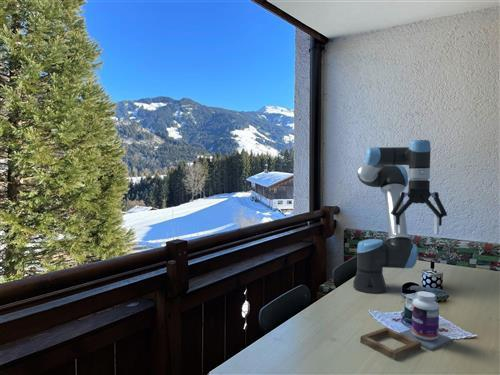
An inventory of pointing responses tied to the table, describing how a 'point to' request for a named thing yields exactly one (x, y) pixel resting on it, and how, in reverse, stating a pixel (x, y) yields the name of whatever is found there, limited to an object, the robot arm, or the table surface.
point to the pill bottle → (425, 316)
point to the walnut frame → (394, 354)
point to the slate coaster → (429, 344)
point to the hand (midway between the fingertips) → (418, 233)
